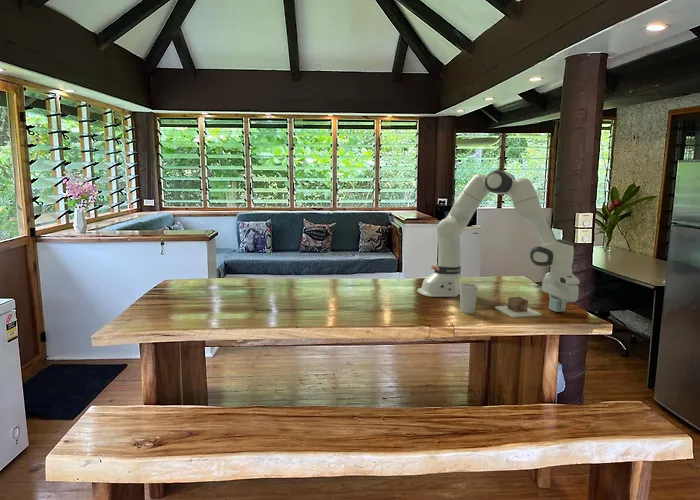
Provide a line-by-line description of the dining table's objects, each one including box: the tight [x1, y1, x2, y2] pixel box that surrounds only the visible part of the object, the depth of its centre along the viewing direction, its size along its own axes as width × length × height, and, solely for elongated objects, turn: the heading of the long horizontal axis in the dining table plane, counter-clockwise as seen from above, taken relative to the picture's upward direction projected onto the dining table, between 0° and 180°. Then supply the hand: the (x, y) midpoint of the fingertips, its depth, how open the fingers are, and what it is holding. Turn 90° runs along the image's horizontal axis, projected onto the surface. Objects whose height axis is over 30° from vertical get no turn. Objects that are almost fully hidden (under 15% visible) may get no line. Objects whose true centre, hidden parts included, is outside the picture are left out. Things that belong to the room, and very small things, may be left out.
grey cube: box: [548, 297, 567, 313], centre depth 215 cm, size 5×5×5 cm
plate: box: [494, 305, 542, 318], centre depth 215 cm, size 14×14×1 cm
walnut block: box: [507, 296, 529, 312], centre depth 214 cm, size 6×6×5 cm
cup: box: [459, 282, 479, 314], centre depth 213 cm, size 8×8×12 cm
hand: (557, 306), depth 215 cm, fingers closed on grey cube, 5 cm apart
